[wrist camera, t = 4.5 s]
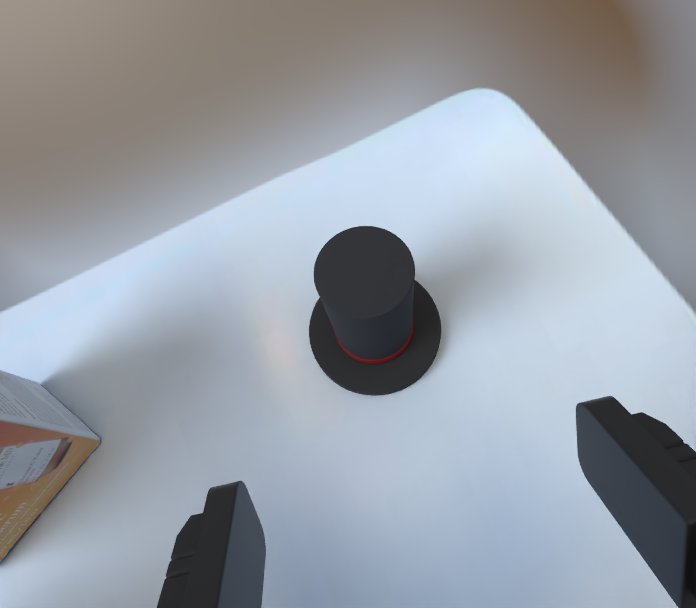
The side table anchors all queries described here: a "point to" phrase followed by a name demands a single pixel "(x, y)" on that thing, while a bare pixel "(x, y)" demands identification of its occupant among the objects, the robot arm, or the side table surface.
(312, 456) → the side table surface
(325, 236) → the side table surface
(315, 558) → the side table surface
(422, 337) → the hat
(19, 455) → the small box
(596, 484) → the robot arm
